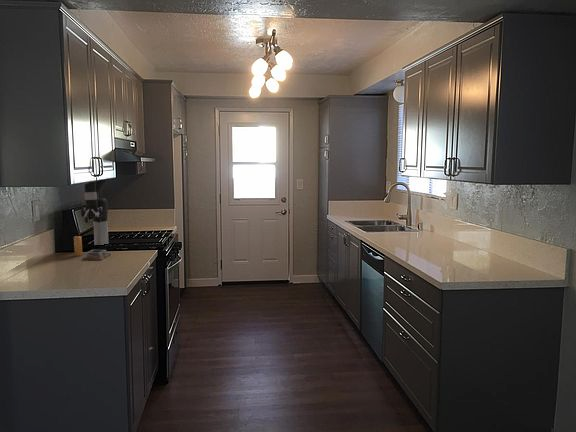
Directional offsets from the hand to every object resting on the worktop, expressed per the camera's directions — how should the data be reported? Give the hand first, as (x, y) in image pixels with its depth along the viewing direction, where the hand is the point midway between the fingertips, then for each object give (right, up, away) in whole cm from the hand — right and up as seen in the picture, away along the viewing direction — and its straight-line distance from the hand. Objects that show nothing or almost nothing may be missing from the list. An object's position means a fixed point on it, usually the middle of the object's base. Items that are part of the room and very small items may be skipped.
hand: (92, 222), depth 318 cm
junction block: (+12, -21, -23) cm, 34 cm away
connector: (-2, -21, -17) cm, 27 cm away
